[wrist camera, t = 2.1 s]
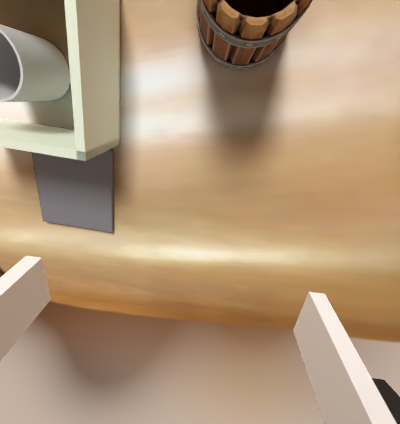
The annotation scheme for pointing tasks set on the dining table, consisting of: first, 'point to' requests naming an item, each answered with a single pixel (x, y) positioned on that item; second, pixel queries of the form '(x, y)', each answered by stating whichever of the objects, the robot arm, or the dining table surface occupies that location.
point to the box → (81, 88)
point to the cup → (30, 68)
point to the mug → (246, 28)
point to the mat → (76, 190)
